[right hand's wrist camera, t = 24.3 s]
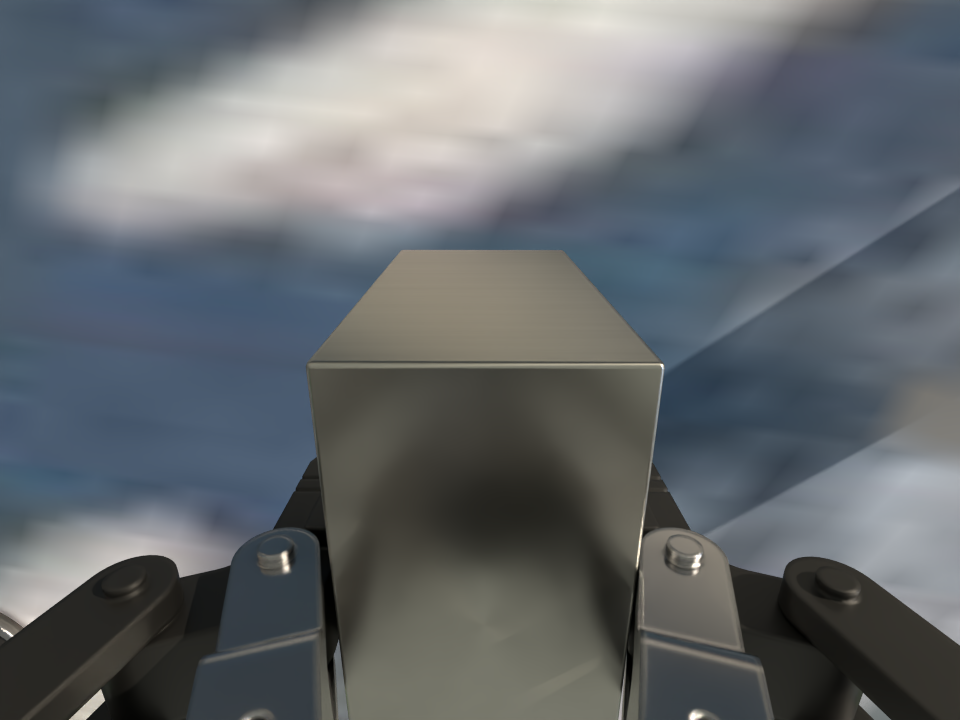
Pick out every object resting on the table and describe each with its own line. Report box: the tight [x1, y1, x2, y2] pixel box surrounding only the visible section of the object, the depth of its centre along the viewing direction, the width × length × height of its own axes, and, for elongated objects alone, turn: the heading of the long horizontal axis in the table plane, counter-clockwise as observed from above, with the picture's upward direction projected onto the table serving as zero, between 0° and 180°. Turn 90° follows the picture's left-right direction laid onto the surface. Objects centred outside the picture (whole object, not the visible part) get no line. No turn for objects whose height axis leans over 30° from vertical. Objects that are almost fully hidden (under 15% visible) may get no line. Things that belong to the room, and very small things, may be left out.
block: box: [306, 250, 665, 720], centre depth 12 cm, size 4×8×8 cm, turn 0°
